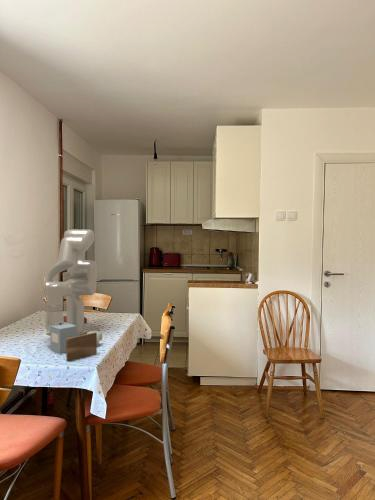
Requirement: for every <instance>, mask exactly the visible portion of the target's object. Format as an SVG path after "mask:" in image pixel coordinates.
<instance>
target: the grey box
mask: <svg viewBox="0 0 375 500" xmlns="http://www.w3.org/2000/svg"><path fill="white" fill-rule="evenodd" d="M50 331H51V333H50V351H51V352H53V353H56V354H58V355H63V353H64V354H66V338H71V337H76V336H78V335H77V326H76V325H72V324H69V323H66V322H64V323H63V325H61V324H60V325H57V326H50Z"/></svg>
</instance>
